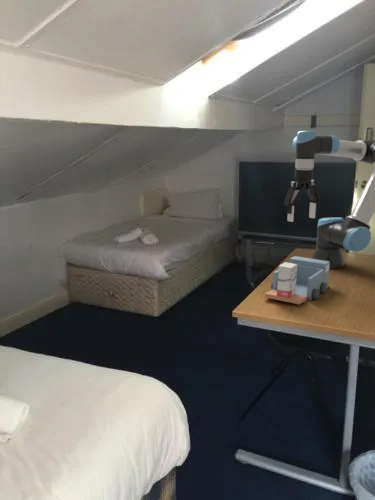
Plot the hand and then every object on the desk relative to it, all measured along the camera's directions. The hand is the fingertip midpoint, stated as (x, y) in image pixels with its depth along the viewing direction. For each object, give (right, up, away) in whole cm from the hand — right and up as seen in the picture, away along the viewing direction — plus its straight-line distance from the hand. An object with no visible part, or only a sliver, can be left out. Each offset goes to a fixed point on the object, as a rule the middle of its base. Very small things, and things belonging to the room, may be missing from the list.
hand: (301, 219), depth 201 cm
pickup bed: (-2, -29, -7) cm, 30 cm away
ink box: (-11, -30, -20) cm, 38 cm away
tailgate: (-9, -30, -17) cm, 36 cm away
